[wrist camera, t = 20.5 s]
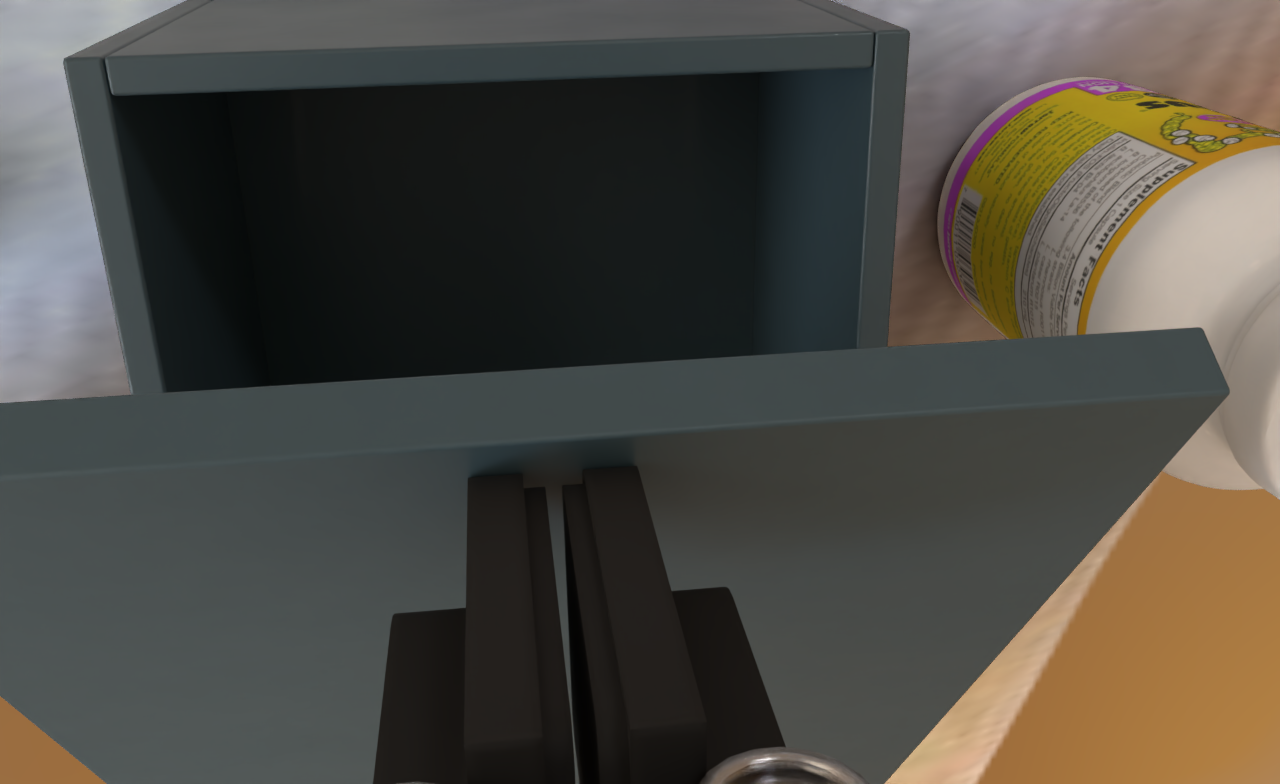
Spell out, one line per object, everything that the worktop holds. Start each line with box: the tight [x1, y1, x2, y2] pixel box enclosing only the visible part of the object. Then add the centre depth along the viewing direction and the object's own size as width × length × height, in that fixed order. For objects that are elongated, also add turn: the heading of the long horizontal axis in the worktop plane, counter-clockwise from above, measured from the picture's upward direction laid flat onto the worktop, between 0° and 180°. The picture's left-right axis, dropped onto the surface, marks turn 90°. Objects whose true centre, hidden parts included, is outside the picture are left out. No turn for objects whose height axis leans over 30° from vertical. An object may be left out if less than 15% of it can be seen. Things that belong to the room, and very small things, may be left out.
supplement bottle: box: [938, 77, 1280, 500], centre depth 25 cm, size 7×7×13 cm
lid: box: [0, 327, 1230, 784], centre depth 18 cm, size 16×13×1 cm
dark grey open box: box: [63, 0, 910, 395], centre depth 26 cm, size 15×13×9 cm
